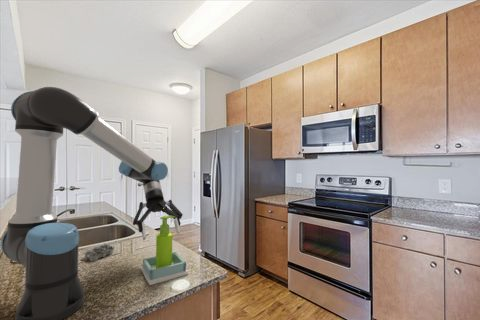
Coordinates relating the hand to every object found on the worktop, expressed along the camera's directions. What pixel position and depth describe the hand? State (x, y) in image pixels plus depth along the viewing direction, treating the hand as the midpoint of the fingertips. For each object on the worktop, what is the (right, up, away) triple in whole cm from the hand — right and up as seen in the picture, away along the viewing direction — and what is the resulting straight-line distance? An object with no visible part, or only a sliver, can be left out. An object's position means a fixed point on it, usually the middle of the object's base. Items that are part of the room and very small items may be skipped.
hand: (162, 235), depth 93 cm
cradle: (+2, -12, -5) cm, 13 cm away
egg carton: (-31, -12, +9) cm, 35 cm away
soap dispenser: (+3, -11, -4) cm, 12 cm away
